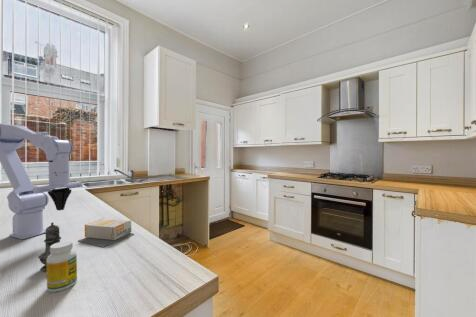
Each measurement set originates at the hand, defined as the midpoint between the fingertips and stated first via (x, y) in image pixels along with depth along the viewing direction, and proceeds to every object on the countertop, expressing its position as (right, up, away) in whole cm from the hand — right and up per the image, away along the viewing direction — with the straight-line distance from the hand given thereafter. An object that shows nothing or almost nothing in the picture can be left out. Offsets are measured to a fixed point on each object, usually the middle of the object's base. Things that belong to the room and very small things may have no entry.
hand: (60, 209), depth 78 cm
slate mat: (+17, -10, -1) cm, 20 cm away
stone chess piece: (+15, -11, -20) cm, 27 cm away
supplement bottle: (+24, -11, -29) cm, 39 cm away
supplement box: (+11, -7, +3) cm, 13 cm away
